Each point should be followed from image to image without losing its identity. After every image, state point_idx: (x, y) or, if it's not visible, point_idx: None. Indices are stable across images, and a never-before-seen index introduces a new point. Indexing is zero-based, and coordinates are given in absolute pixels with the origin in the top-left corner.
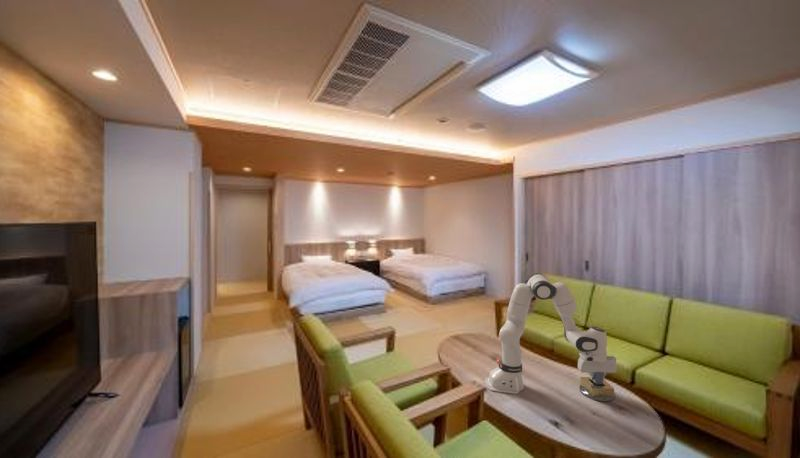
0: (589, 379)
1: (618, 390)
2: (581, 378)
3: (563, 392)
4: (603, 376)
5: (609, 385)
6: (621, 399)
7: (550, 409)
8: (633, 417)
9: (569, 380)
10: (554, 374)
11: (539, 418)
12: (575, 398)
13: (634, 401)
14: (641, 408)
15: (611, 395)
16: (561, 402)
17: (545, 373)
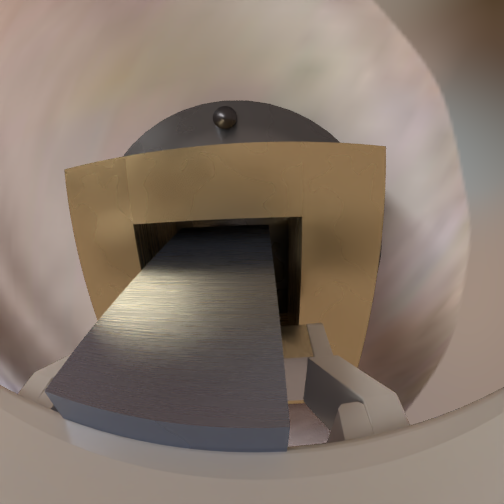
0: (155, 220)
1: (446, 201)
2: (73, 193)
3: (23, 252)
4: (316, 407)
5: (347, 357)
6: (384, 318)
7: (10, 363)
8: (314, 434)
9: (92, 64)
10: (43, 21)
11: (5, 386)
12: (71, 314)
13: (438, 326)
14: (414, 378)
15: None
16: (25, 336)
17: (9, 38)
